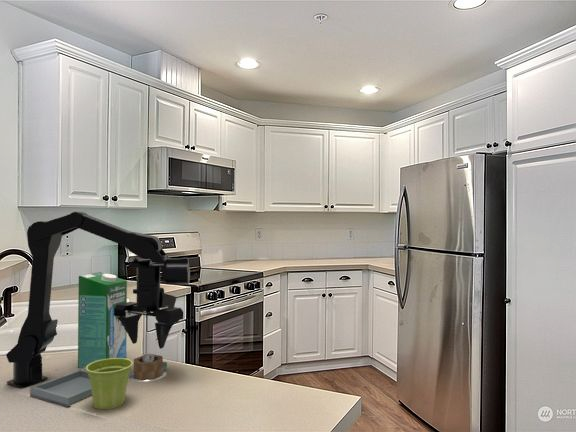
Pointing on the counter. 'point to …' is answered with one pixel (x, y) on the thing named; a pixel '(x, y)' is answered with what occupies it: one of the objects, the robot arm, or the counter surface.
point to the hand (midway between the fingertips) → (147, 345)
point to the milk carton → (100, 318)
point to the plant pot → (109, 381)
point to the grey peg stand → (145, 359)
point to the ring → (149, 368)
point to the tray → (64, 389)
